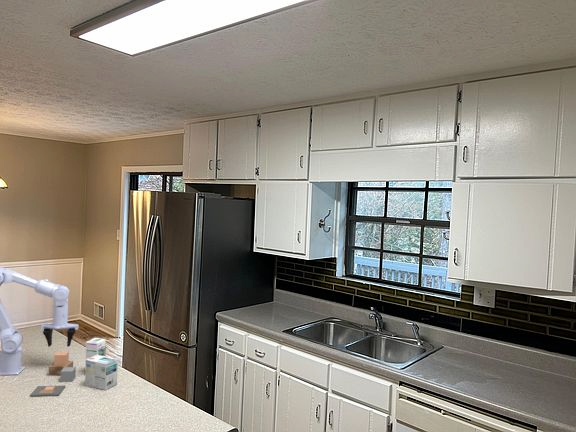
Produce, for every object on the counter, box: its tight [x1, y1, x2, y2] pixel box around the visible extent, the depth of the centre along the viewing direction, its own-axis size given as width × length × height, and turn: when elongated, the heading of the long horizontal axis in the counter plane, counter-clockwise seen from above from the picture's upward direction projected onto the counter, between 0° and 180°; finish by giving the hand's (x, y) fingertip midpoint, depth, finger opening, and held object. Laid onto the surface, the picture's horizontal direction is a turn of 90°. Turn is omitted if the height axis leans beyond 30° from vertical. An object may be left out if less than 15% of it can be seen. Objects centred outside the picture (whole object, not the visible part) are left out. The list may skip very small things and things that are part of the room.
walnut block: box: [48, 360, 74, 377], centre depth 187 cm, size 7×7×4 cm
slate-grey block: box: [59, 366, 77, 383], centre depth 180 cm, size 4×4×4 cm
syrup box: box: [85, 337, 107, 360], centre depth 188 cm, size 6×6×14 cm
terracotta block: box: [53, 350, 70, 366], centre depth 187 cm, size 4×4×4 cm
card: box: [29, 385, 66, 398], centre depth 169 cm, size 10×8×1 cm
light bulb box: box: [84, 355, 119, 391], centre depth 177 cm, size 11×7×11 cm, turn 71°
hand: (59, 345), depth 191 cm, fingers open, 7 cm apart
